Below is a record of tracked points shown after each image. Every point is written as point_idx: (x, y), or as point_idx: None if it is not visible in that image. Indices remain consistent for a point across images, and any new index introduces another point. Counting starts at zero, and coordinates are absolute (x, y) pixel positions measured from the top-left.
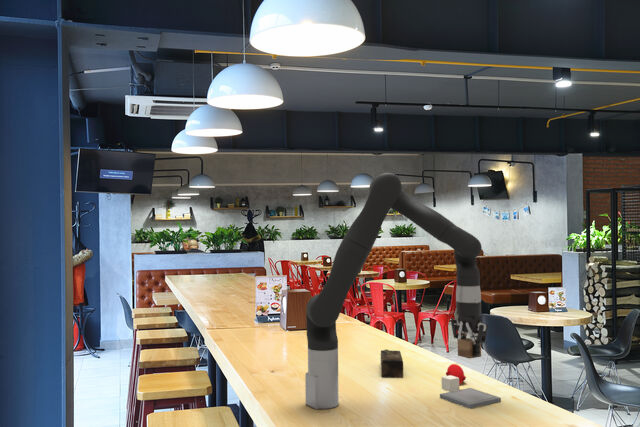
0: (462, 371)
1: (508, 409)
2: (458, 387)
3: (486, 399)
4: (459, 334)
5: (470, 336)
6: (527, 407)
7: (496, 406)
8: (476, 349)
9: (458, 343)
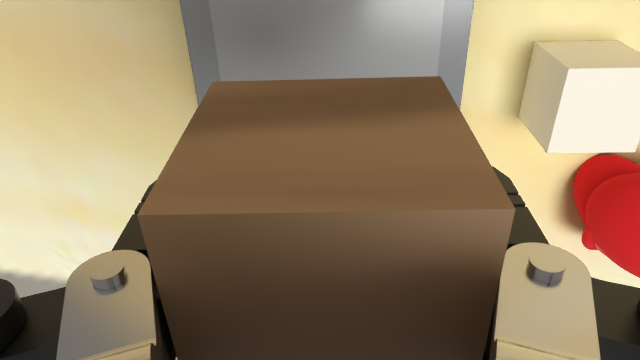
0: (615, 254)
1: (76, 86)
2: (524, 117)
3: (211, 67)
4: (570, 357)
5: (116, 353)
6: (80, 187)
7: (147, 69)
8: (128, 222)
9: (466, 165)
